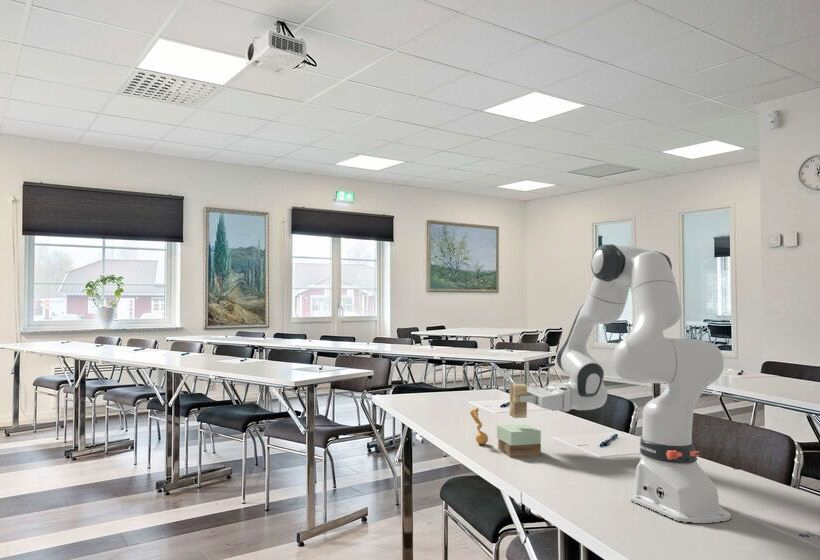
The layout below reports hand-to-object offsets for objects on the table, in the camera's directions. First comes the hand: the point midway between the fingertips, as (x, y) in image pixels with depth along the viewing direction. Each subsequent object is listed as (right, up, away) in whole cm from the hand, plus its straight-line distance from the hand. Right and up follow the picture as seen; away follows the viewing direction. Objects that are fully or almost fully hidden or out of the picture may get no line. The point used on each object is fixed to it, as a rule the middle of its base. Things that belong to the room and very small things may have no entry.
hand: (515, 397), depth 187 cm
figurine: (-11, -17, +8) cm, 22 cm away
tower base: (+1, -18, -1) cm, 18 cm away
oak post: (+1, -6, 0) cm, 6 cm away
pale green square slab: (+1, -14, 0) cm, 14 cm away
